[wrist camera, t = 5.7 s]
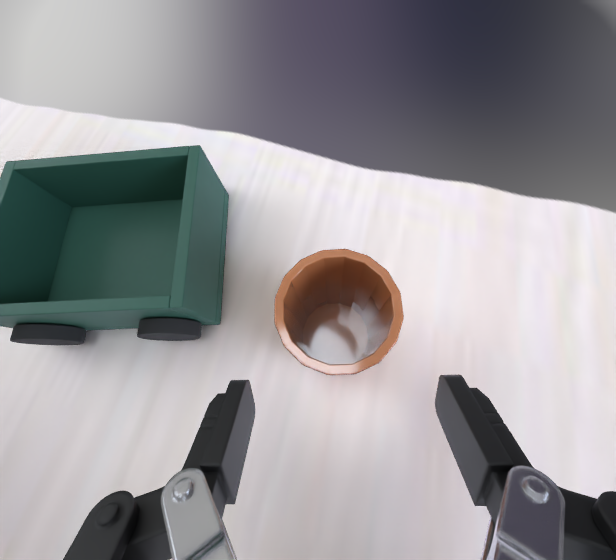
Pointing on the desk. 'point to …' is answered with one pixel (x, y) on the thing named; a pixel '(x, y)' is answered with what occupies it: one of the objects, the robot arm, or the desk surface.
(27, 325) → the cart wheels
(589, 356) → the desk surface
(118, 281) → the cart
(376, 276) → the orange cup
